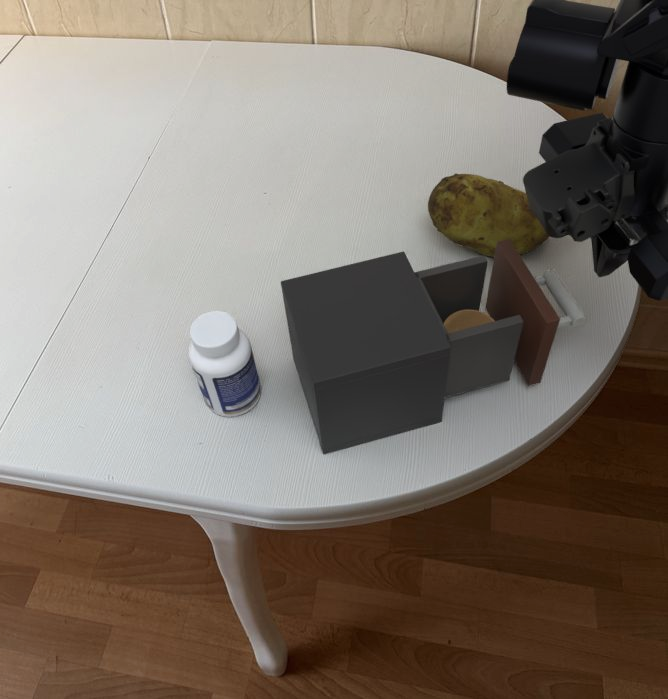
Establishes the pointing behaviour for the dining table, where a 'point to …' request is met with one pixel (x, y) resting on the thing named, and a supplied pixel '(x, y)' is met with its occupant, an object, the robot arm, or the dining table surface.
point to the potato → (484, 214)
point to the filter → (466, 320)
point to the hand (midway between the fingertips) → (601, 273)
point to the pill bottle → (223, 364)
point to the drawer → (498, 318)
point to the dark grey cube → (366, 351)
